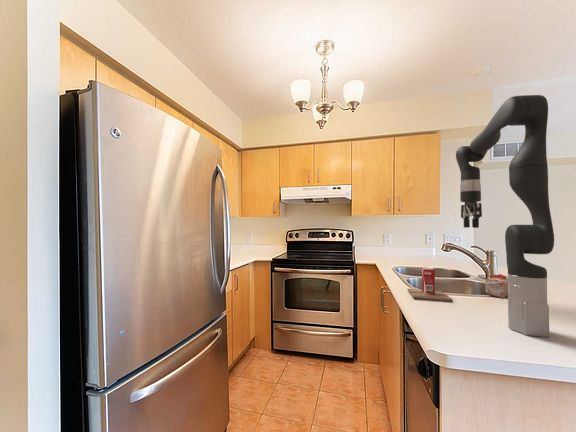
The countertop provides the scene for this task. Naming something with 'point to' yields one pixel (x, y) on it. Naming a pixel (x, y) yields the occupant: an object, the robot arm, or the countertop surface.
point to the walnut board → (429, 296)
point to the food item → (497, 286)
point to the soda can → (428, 280)
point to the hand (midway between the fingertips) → (470, 227)
